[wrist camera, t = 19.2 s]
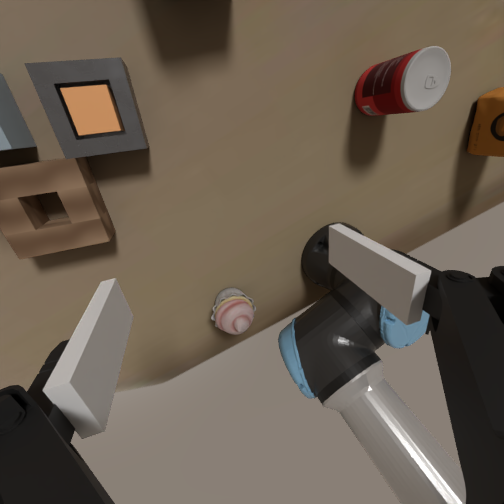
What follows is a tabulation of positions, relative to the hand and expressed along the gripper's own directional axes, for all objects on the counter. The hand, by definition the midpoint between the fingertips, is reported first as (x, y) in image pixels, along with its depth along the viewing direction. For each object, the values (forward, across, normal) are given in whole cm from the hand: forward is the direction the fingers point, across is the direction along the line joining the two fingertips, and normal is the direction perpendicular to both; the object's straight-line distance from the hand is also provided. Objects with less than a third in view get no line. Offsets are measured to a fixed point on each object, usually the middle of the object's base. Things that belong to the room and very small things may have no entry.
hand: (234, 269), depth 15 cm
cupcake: (+31, +1, -25) cm, 40 cm away
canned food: (+31, +34, +10) cm, 47 cm away
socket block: (+30, -21, +2) cm, 37 cm away
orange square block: (+29, -11, +12) cm, 33 cm away
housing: (+30, -11, +12) cm, 34 cm away
